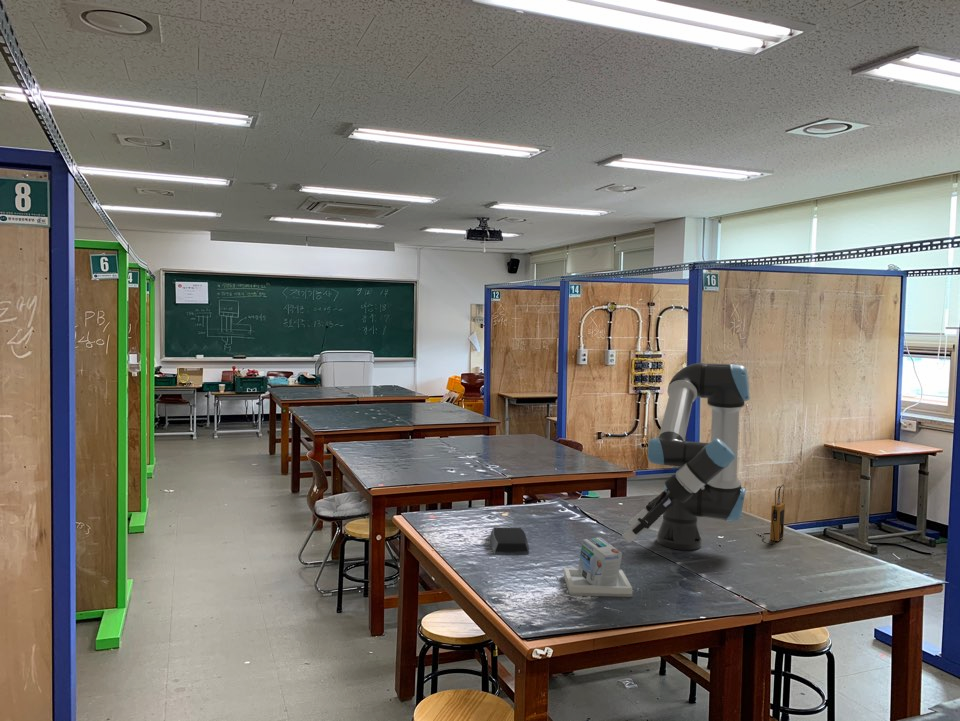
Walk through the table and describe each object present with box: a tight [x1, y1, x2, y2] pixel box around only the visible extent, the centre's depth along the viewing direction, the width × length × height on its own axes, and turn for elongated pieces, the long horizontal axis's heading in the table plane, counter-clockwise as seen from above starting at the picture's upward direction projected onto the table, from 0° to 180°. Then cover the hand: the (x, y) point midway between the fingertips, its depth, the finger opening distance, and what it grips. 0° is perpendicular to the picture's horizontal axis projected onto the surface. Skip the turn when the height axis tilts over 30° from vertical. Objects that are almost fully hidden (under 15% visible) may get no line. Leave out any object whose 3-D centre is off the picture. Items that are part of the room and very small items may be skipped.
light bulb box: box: [577, 536, 623, 586], centre depth 192 cm, size 11×7×11 cm, turn 28°
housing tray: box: [563, 567, 634, 598], centre depth 193 cm, size 14×17×2 cm
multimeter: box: [756, 484, 786, 544], centre depth 244 cm, size 15×10×20 cm
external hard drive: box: [489, 526, 530, 555], centre depth 229 cm, size 13×19×4 cm
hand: (628, 532), depth 190 cm, fingers open, 13 cm apart
